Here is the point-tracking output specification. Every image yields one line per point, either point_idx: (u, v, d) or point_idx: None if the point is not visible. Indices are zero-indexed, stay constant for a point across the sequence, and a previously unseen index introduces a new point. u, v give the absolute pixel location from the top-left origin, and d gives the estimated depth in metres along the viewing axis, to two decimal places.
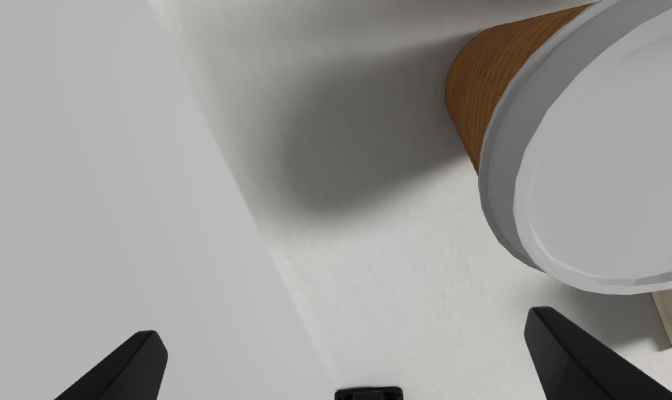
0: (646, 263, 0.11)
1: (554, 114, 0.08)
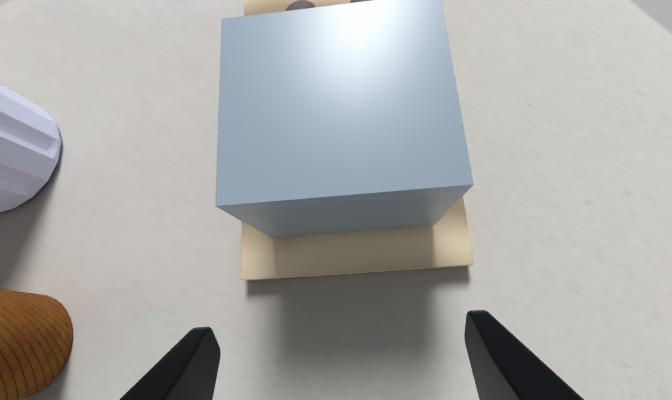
0: None
1: None
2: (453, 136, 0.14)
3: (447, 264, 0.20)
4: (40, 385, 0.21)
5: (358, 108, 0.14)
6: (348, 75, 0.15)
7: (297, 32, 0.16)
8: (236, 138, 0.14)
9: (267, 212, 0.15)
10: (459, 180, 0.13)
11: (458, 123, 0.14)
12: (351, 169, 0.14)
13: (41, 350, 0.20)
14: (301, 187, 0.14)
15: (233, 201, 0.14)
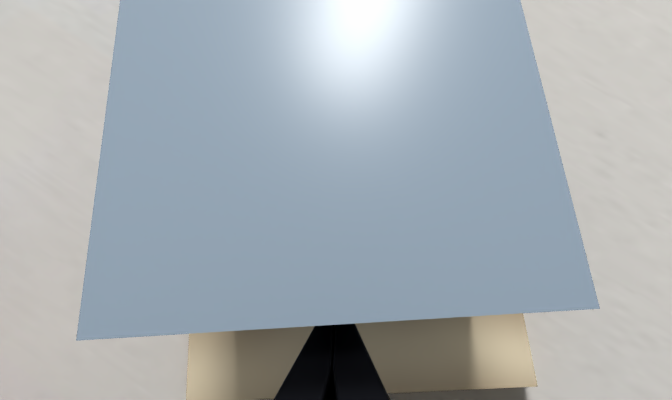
0: None
1: None
2: (548, 202, 0.07)
3: (496, 385, 0.13)
4: None
5: (358, 143, 0.07)
6: (340, 80, 0.08)
7: (249, 4, 0.09)
8: (128, 200, 0.08)
9: None
10: (569, 298, 0.06)
11: (556, 175, 0.07)
12: (345, 268, 0.07)
13: None
14: (245, 305, 0.07)
15: (112, 330, 0.07)
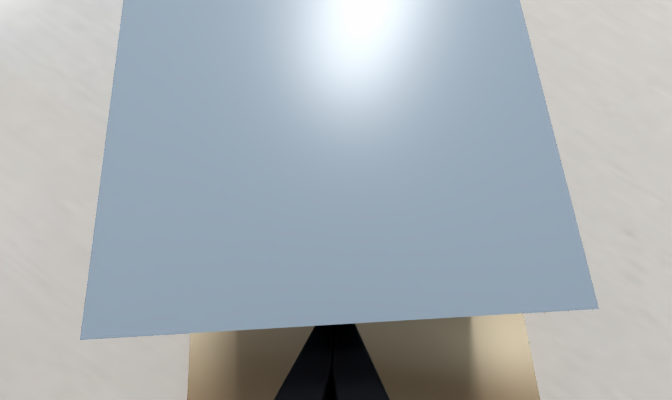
0: None
1: None
2: (548, 203, 0.07)
3: None
4: None
5: (359, 145, 0.08)
6: (342, 82, 0.08)
7: (251, 7, 0.09)
8: (131, 201, 0.08)
9: None
10: (568, 298, 0.06)
11: (555, 176, 0.07)
12: (346, 269, 0.07)
13: None
14: (247, 305, 0.07)
15: (115, 330, 0.07)
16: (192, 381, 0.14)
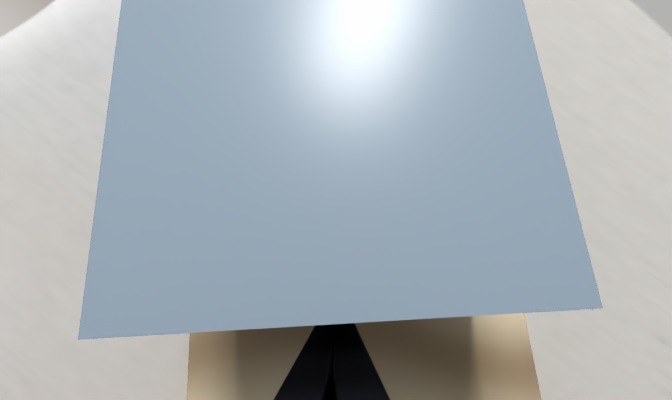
0: None
1: None
2: (551, 202, 0.07)
3: None
4: None
5: (360, 143, 0.07)
6: (342, 79, 0.08)
7: (251, 3, 0.09)
8: (130, 199, 0.08)
9: None
10: (571, 298, 0.06)
11: (558, 174, 0.07)
12: (347, 268, 0.07)
13: None
14: (247, 304, 0.07)
15: (114, 330, 0.07)
16: None
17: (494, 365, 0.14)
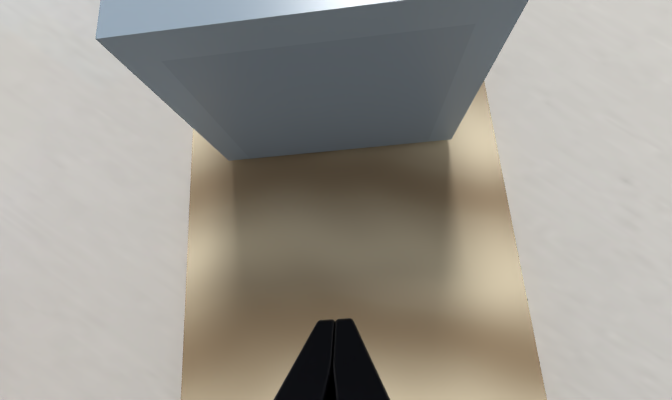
0: None
1: None
2: None
3: None
4: None
5: None
6: None
7: None
8: None
9: (196, 74, 0.10)
10: None
11: None
12: None
13: None
14: (240, 4, 0.08)
15: (126, 31, 0.08)
16: (188, 325, 0.15)
17: (469, 195, 0.15)
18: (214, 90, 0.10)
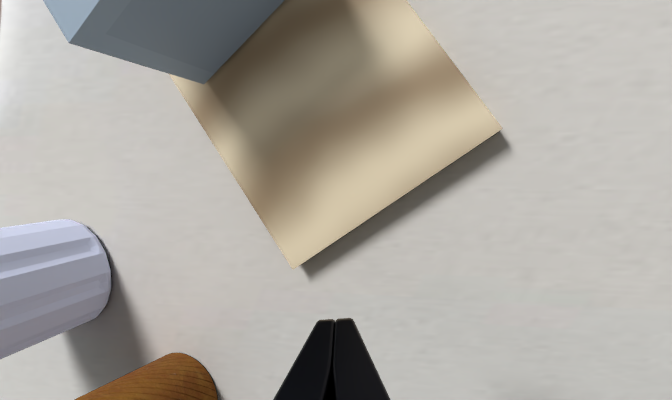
0: None
1: None
2: None
3: (473, 145, 0.17)
4: None
5: None
6: None
7: None
8: None
9: (128, 29, 0.15)
10: None
11: None
12: None
13: (191, 397, 0.24)
14: None
15: (77, 28, 0.14)
16: (247, 192, 0.22)
17: None
18: (146, 33, 0.16)
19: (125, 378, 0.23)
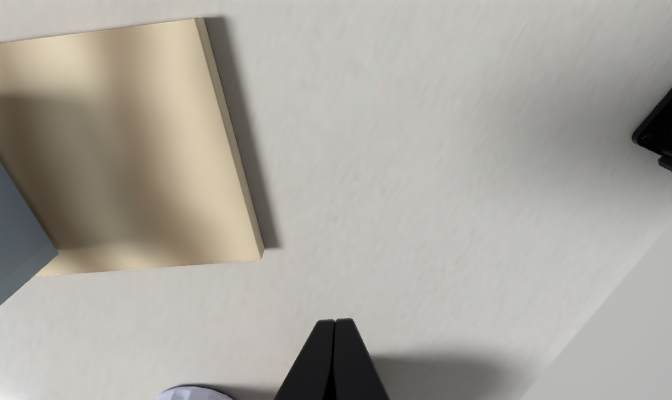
0: None
1: None
2: None
3: (202, 54, 0.16)
4: None
5: None
6: None
7: None
8: None
9: None
10: None
11: None
12: None
13: None
14: None
15: None
16: (176, 263, 0.23)
17: (5, 78, 0.17)
18: None
19: None
